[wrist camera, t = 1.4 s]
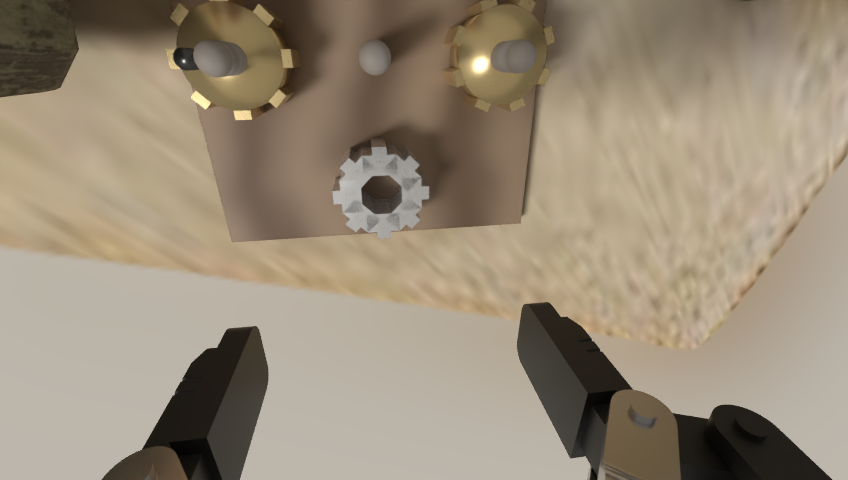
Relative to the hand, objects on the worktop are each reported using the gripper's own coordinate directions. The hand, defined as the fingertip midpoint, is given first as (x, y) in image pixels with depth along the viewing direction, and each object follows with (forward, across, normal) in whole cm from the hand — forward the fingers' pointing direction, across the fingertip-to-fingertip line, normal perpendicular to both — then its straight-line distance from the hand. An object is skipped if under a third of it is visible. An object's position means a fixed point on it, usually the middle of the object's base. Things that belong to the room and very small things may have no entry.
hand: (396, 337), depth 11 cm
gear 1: (+17, +8, -8) cm, 20 cm away
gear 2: (+17, -8, -8) cm, 20 cm away
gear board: (+18, 0, -4) cm, 18 cm away
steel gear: (+17, 0, 0) cm, 17 cm away
